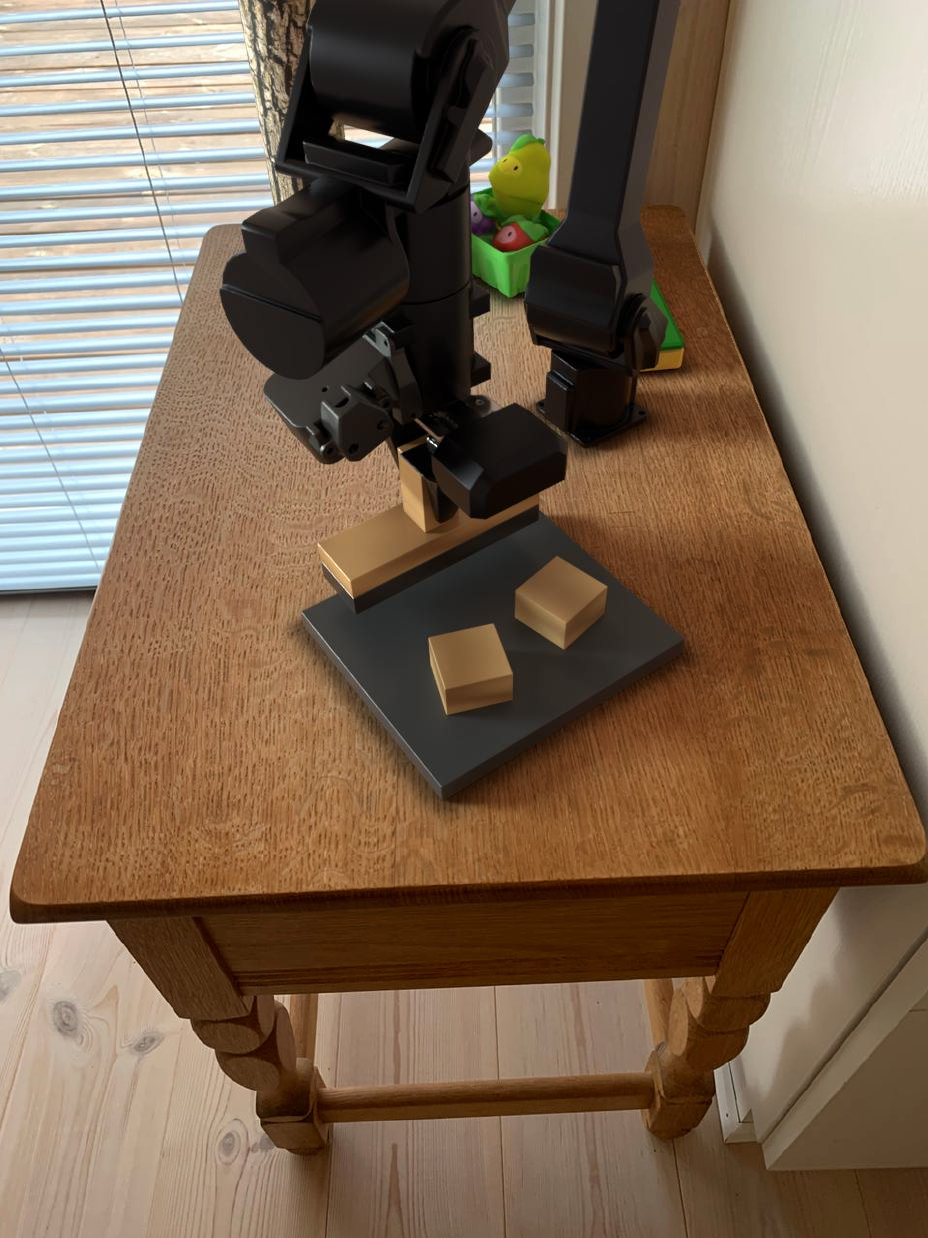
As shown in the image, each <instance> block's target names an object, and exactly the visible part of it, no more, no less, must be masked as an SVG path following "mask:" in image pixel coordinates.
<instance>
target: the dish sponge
mask: <svg viewBox="0 0 928 1238" xmlns="http://www.w3.org/2000/svg"><path fill="white" fill-rule="evenodd" d="M650 298H652V299H653V301H654V302H655V303H656V304H657V306H658V307H659V308H660V310H661V311H662V312H663V313H664V315H665V316H666V317H667V318H668V325H667V329H666V332H665V334H666V338H665V340H664V342H663V343H662V347H661V349H660V355H659V362H658V365H657V366H656V367H655V368H652V369H645V370H641V371H640V372H639V373H641V372H649V371H651V372H652V371H659V370H660V371H661V370H669V369H679V368H680V367H681V366H682V363H683V357H684V350H685V349H684V347H685V344H686V342H685V340H684V337H683V335H682V333H681V332H680V329H679V327H678V325H677V322H676V321H675V319H674V316H673V315H672V312H671V311H670V308H669V306H668V304H667V302H666V300H665V298H664V296H663V294H662V292H661V289H660V287H659V285H658V283H657V281H656V278H655V277H654V276H653V281H652V289H651V296H650Z"/></svg>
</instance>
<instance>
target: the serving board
mask: <svg viewBox="0 0 928 1238" xmlns="http://www.w3.org/2000/svg"><path fill="white" fill-rule="evenodd" d="M556 556H558V557H560V558H561V559H563V560H565V561H566V562H568V563H570V564H571V565H573V566H575V567H576V568H578V569H579V570H581V571H583V572H584V573H586V574H588V575H589V576H591V577H593V578H594V579H596V580H598V581H599V582H601V583H603V584H604V585H606V586H607V595H606V603H605V612H604V614H603V615H602V616H601V617H600V618H599V619H598V620H597V621H595V622H594V623H593V624H592V625H591V626H590V627H589V628H588V629H587V630H586V631H584V632H583V633H582V634H581V635H580V636H579V637H578V638H577V639H576V640H574V641H573V642H572V643H571V644H570V645H569V646H568V647H567V648H566V649H565V650H564V649H562V648H560V647H559V646H557V645H556V644H554V643H553V642H551V641H550V640H548V639H547V638H545V637H544V636H542V635H541V634H539V633H538V632H536V631H535V630H533V629H532V628H530V627H529V626H527V625H526V624H524V623H523V622H521V621H520V620H518V619H517V618H515V591H516V590H517V589H518V588H519V587H520V586H521V585H523V584H524V583H525V582H526V581H527V580H529V579H530V578H531V577H532V576H533V575H535V574H536V573H537V572H538V571H539V570H541V569H542V568H543V567H544V566H545V565H547V564H548V563H549V562H550V561H551V560H553V559H554V558H555V557H556ZM300 613H301V614H300V615H301V618H302V622H303V627H304V628H305V630H306V631H307V632H308V633H309V634H310V636H311V637H312V639H313V640H314V641H315V642H316V643H317V645H318V646H319V647H320V648H321V649H322V651H323V652H324V654H325V655H326V656H327V657H328V659H329V660H330V661H331V662H332V664H333V665H334V666H335V668H336V669H337V670H338V672H339V673H340V674H341V675H342V677H344V679H345V680H346V681H347V683H348V684H349V686H351V688H352V689H353V690H354V691H355V693H356V694H357V696H359V698H360V699H361V700H362V702H363V703H364V704H365V705H366V707H367V708H368V709H369V710H370V712H371V713H372V715H374V717H375V718H376V719H377V720H378V721H379V723H380V725H382V727H383V728H384V729H385V731H386V732H387V733H388V734H389V736H390V737H391V739H393V741H394V742H395V744H396V745H397V746H398V747H399V748H400V750H401V751H402V753H404V755H405V757H407V759H408V760H409V762H411V763H412V765H413V766H414V767H415V769H416V770H417V771H418V772H419V774H420V775H421V776H422V777H423V779H424V780H425V781H426V783H427V784H428V786H430V787H431V789H432V790H433V791H434V792H435V794H436V795H437V796H438V798H439V799H440V800H441V801H442V802H444V801H446V800H447V799H449V798H451V797H453V796H454V795H456V794H457V793H459V792H461V791H462V790H464V789H465V788H467V787H468V786H470V785H472V784H473V783H475V782H477V781H478V780H480V779H481V778H483V777H485V776H486V775H488V774H489V773H491V772H492V771H494V770H496V769H498V768H499V767H501V766H503V765H504V764H505V763H507V762H509V761H511V760H512V759H514V758H516V757H517V756H519V755H520V754H522V753H523V752H525V751H526V750H529V749H530V748H532V747H533V746H535V745H536V744H538V743H539V742H542V741H543V740H544V739H546V738H548V737H549V736H551V735H552V734H554V733H556V732H558V731H560V730H561V729H562V728H564V727H566V726H567V725H569V724H570V723H572V722H574V721H575V720H577V719H579V718H580V717H582V716H583V715H585V714H587V713H588V712H590V711H591V710H593V709H595V708H596V707H598V706H599V705H601V704H603V703H604V702H606V701H607V700H610V699H611V698H612V697H614V696H615V695H617V694H619V693H620V692H622V691H624V690H626V689H627V688H629V687H630V686H632V685H633V684H635V683H637V682H638V681H640V680H642V679H643V678H645V677H646V676H648V675H649V674H651V673H652V672H654V671H656V670H658V669H660V668H661V667H662V666H664V665H665V664H667V663H669V662H670V661H672V660H674V659H675V658H677V657H678V656H681V655H682V653H683V648H684V643H685V637H684V636H682V635H681V634H680V633H679V632H678V631H677V630H676V629H674V628H673V627H672V626H671V625H670V624H669V623H668V622H667V621H665V619H663V618H662V617H661V616H660V615H659V614H657V613H656V612H655V611H654V610H653V609H652V608H651V607H650V606H648V605H647V604H646V603H645V602H644V601H643V600H641V599H640V597H638V596H637V595H636V594H635V593H633V591H632V590H630V589H629V587H627V586H626V585H625V584H624V583H623V582H621V581H620V580H619V579H618V578H617V577H615V575H614V574H612V573H611V572H610V571H609V570H608V569H607V568H605V566H603V565H602V563H600V562H599V561H598V560H597V559H596V558H594V557H593V556H592V555H591V554H590V553H589V552H588V551H586V550H585V549H584V548H583V547H582V546H581V545H579V543H578V542H576V541H575V540H574V539H573V538H572V537H571V536H570V535H568V534H567V532H565V531H564V530H563V529H562V528H560V526H558V525H557V524H556V523H555V522H553V520H551V519H550V518H549V517H548V516H547V515H545V514H544V512H542V511H541V510H540V509H539V520H538V521H536V522H534V523H532V524H531V525H529V526H527V527H525V528H523V529H521V530H519V531H517V532H515V533H513V534H511V535H509V536H507V537H506V538H504V539H502V540H500V541H498V542H496V543H494V544H492V545H490V546H488V547H486V548H484V549H482V550H481V551H479V552H477V553H475V554H473V555H471V556H469V557H467V558H465V559H463V560H461V561H459V562H457V563H455V564H454V565H452V566H450V567H448V568H446V569H444V570H442V571H440V572H438V573H436V574H434V575H432V576H430V577H429V578H427V579H425V580H423V581H421V582H419V583H417V584H415V585H413V586H411V587H409V588H407V589H405V590H404V591H402V592H400V593H398V594H396V595H394V596H392V597H390V598H388V599H386V600H384V601H382V602H380V603H378V604H377V605H375V606H373V607H371V608H369V609H367V610H365V611H363V612H361V613H359V614H357V615H356V614H355V613H354V612H353V611H352V609H351V608H350V607H349V606H348V605H347V604H346V602H345V601H344V600H343V599H342V598H341V596H340V595H339V594H338V593H337V592H336V593H335V594H333V595H331V596H329V597H327V598H326V599H323V600H321V601H319V602H317V603H315V604H313V605H312V606H309V607H308V608H307V607H306V608H305V609H303V610H301V612H300ZM488 624H494V625H495V628H496V630H497V633H498V636H499V638H500V641H501V643H502V646H503V649H504V651H505V654H506V657H507V659H508V662H509V664H510V667H511V670H512V672H513V700H510V701H506V702H502V703H498V704H493V705H489V706H485V707H480V708H476V709H472V710H468V711H463V712H459V713H455V714H450V715H447V714H446V712H445V708H444V705H443V702H442V699H441V696H440V692H439V689H438V686H437V683H436V680H435V677H434V673H433V670H432V667H431V663H430V651H429V640H428V639H429V637H433V636H438V635H443V634H447V633H452V632H456V631H461V630H465V629H470V628H474V627H479V626H483V625H488Z"/></svg>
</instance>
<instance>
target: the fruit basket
mask: <svg viewBox="0 0 928 1238" xmlns="http://www.w3.org/2000/svg"><path fill="white" fill-rule="evenodd" d="M545 144H546V140H545V139H544V138H542V137H538V138H537V137H535V136H534V135H533V134H530V133H525V134H523V135H521V136H520V137H519V138H518V139H516V140H515V142H514V143H513V144H512V147H510V148H509V152H508V154H506V155H504V156H502V157H501V158H500V159H499V160H498V161H496V162H495V164H494V165H493V166H492V168H491V169H490V171H489V174H488V176H487V178H488V181H489V183H490V186H491V187H487V188H484V189H482V190H479V191H474V192H472V193H471V230H472V271H473V275H474V276H476V277H477V278H481V280H482V281H483V282H484V283H486V284H487V285H489V286H491V287H492V288H495V289H497V290H498V291H499V292H500V293H501V294H503V295H504V296H506V297H507V298H513V297H515V296H516V295H518V294H521V293H525V290H526V286H527V283H528V281H529V273H530V256H531V254H532V253H533V251H534V249H535V248H536V247H537V246H538V245H539V244H544V243H545V241H546V240H547V239H548V238H549V236H550V235H551V234H552V233H553V231H554V230H555V229H556V228H557V226H558V225H559V224H560V223H561V221H562V220H561V219H559V218H558V217H556V216H554V215H552V214H550V212H547V211H546V210H544V209H543V207H544V205H545V204H546V201H547V199H548V196H549V192H550V170H551V165H552V157H551V155H550V153H549V151H548V149H547V148H546V147H545Z"/></svg>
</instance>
